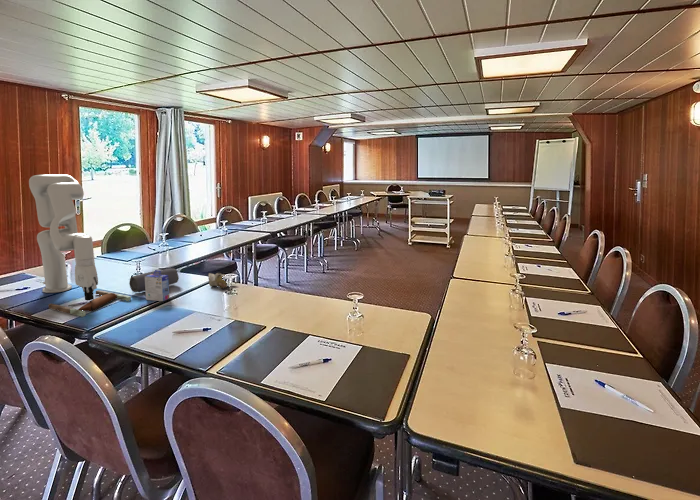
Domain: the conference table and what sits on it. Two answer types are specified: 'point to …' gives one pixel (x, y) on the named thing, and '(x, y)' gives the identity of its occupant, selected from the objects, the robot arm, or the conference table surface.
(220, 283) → the ceramic sculpture
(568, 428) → the conference table surface
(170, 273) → the bluetooth speaker
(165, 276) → the ink cartridge box
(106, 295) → the brown bottle
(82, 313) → the beige rail frame
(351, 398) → the conference table surface
